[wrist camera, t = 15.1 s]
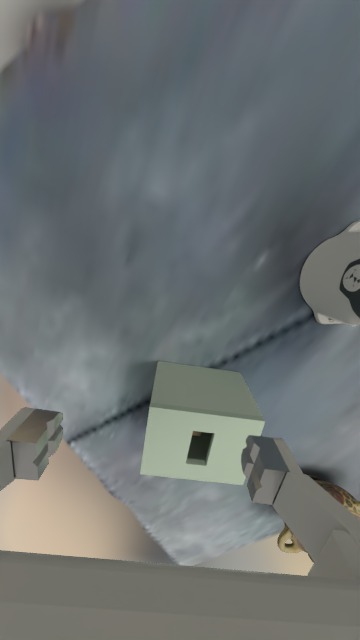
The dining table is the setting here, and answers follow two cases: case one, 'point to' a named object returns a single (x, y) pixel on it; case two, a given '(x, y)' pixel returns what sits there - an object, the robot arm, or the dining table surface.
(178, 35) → the dining table surface
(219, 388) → the slot box
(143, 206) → the dining table surface
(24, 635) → the robot arm
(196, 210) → the dining table surface
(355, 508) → the ceramic bowl
